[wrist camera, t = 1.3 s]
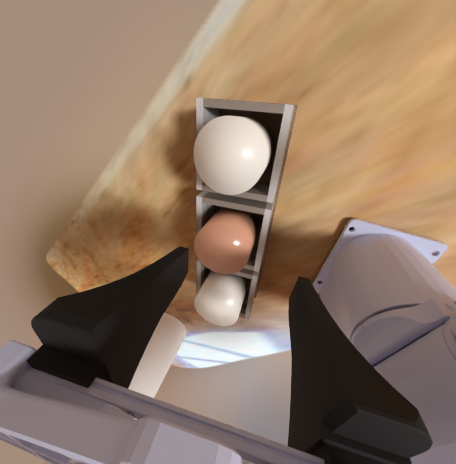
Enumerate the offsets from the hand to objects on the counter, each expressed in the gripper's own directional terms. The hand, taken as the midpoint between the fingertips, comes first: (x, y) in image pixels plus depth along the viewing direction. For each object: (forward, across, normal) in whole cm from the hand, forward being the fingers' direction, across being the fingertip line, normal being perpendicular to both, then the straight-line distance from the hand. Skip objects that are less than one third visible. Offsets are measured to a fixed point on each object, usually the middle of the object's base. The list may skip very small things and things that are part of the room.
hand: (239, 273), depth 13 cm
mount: (+10, +2, +1) cm, 10 cm away
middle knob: (+7, +2, +1) cm, 7 cm away
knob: (+7, +1, +8) cm, 10 cm away
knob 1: (+7, +2, -6) cm, 9 cm away
